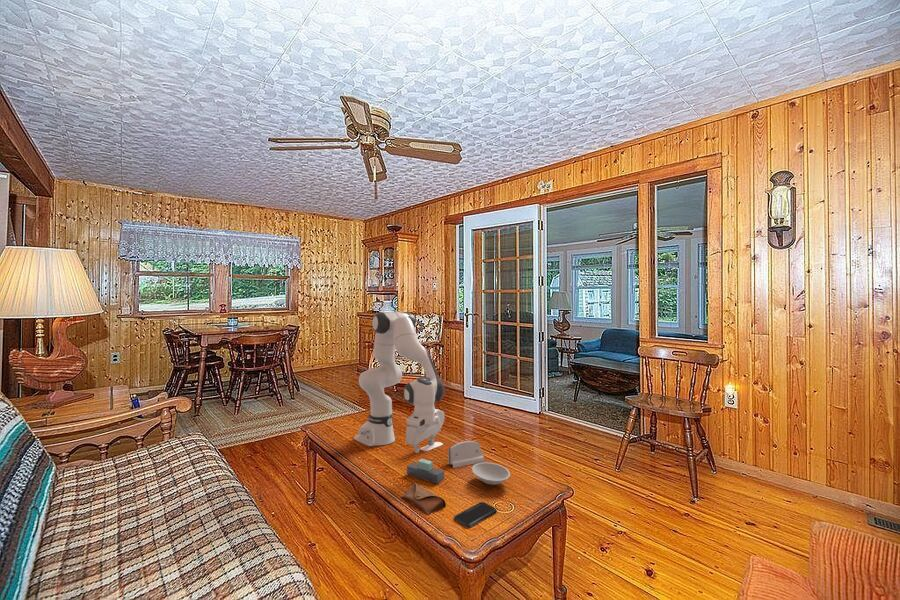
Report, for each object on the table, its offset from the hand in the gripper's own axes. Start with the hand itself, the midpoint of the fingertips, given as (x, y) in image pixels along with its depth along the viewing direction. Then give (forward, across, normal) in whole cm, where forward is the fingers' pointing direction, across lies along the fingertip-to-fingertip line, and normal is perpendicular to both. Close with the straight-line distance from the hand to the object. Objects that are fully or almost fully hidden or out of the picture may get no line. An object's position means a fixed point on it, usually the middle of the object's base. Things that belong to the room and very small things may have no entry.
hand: (424, 448), depth 169 cm
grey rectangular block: (+12, 0, +1) cm, 12 cm away
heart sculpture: (+13, -29, -16) cm, 36 cm away
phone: (+12, +14, +33) cm, 38 cm away
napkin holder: (+12, -22, +8) cm, 27 cm away
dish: (+12, -10, +27) cm, 31 cm away
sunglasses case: (+12, +17, +12) cm, 24 cm away
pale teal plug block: (+12, 0, +1) cm, 12 cm away
